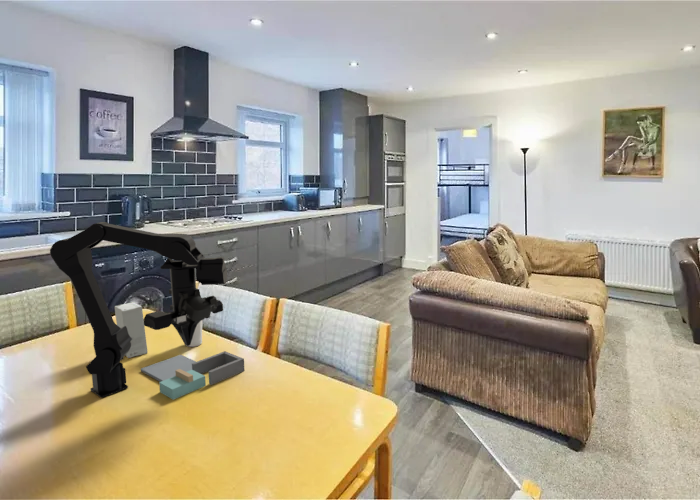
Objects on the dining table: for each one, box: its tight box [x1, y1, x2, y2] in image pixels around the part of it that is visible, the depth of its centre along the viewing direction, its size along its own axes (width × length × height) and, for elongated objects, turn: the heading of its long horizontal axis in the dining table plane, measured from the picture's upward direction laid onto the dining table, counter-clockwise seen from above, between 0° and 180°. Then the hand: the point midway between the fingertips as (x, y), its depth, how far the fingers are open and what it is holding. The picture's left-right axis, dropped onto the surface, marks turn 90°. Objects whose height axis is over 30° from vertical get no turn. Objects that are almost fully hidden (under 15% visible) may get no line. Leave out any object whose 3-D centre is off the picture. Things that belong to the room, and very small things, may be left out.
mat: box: [140, 354, 197, 382], centre depth 119 cm, size 12×12×1 cm
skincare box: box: [114, 301, 149, 359], centre depth 130 cm, size 8×6×15 cm
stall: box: [192, 350, 245, 386], centre depth 117 cm, size 11×9×4 cm
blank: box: [158, 369, 206, 401], centre depth 108 cm, size 9×6×4 cm, turn 142°
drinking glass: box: [187, 320, 203, 348], centre depth 136 cm, size 7×7×15 cm
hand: (187, 345), depth 108 cm, fingers closed
